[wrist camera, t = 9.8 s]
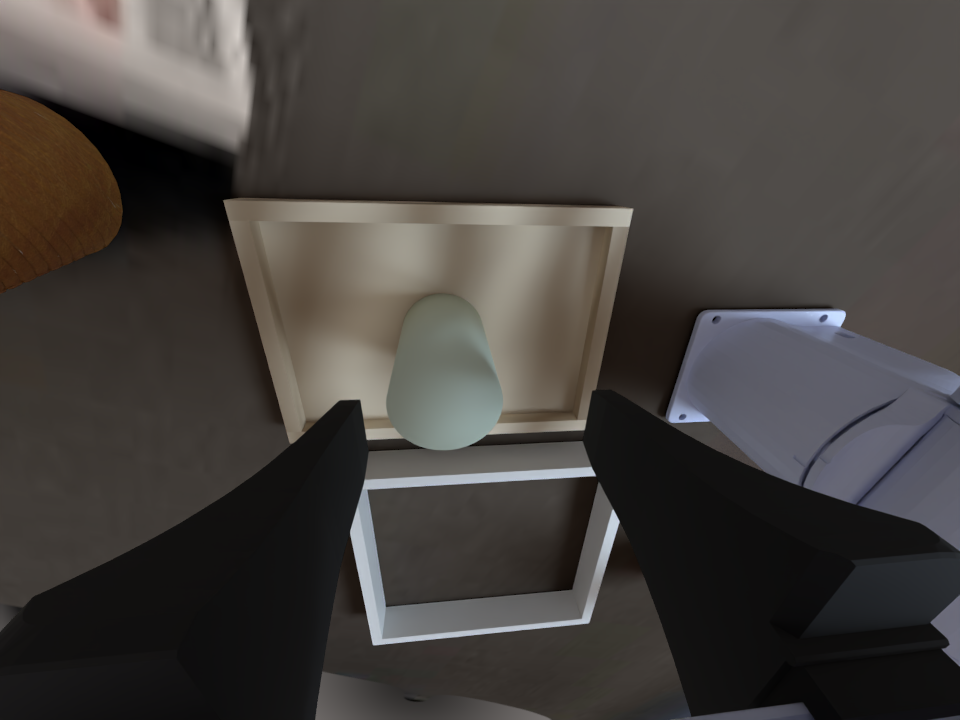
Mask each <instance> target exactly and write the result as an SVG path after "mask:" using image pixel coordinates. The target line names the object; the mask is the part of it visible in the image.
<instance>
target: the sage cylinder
mask: <svg viewBox="0 0 960 720" xmlns="http://www.w3.org/2000/svg"><path fill="white" fill-rule="evenodd" d="M502 408H503V394H502V390H501V386H500V383H499V379H498V376H497V372H496V369H495V365H494V362H493V358H492V355H491V351H490V348H489V345H488V341H487V338H486V334H485V331H484V327H483V324H482V320H481V318H480V315H479V314H478V312H477V310H476V309H475V308H474V307H473V306H472V305H471V304H470V303H469V302H468V301H466V300H465V299H463V298H461V297H459V296H456V295H452V294H445V293H440V294H433V295H429V296H426V297H424V298H422V299H420V300H419V301H417V302H416V303H415V304H414V305H413V306H412V307H411V308H410V309H409V311H408V312H407V314H406V316H405V318H404V321H403V325H402V330H401V334H400V339H399V343H398V348H397V352H396V357H395V361H394V366H393V370H392V375H391V379H390V383H389V388H388V392H387V397H386V409H387V414H388V417H389V419H390V422H391V423H392V425H393V427H394V428H395V429H396V430H397V432H398V433H399V434H400V435H401V436H402V437H404V438H405V439H407V440H408V441H410V442H411V443H413V444H415V445H418V446H420V447H423V448H427V449H432V450H454V449H459V448H463V447H466V446H469V445H471V444H473V443H475V442H477V441H479V440H480V439H482V438H483V437H484V436H486V435H487V434H488V433H489V432H490V431H491V430H492V429H493V427H494V426H495V425H496V423H497V421H498V420H499V417H500V415H501V412H502Z"/></svg>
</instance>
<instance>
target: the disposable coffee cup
mask: <svg viewBox="0 0 960 720" xmlns="http://www.w3.org/2000/svg"><path fill="white" fill-rule="evenodd" d="M122 213H123V209H122V202H121V196H120V191H119V188H118V185H117V182H116V180H115V178H114V176H113V174H112V172H111V170H110V168H109V166H108V164H107V163H106V161H105V160H104V158H103V157H102V156H101V154H100V153H99V151H98V150H97V149H96V147H95V146H94V145H93V144H92V143H91V142H90V141H89V140H88V139H87V138H86V137H85V135H84V134H83V133H82V132H81V131H79V130H78V129H77V128H76V127H75V126H73V125H72V124H71V123H70V122H69V121H67V120H66V119H65V118H63V117H62V116H60V115H59V114H57V113H55V112H54V111H52V110H51V109H49V108H47V107H46V106H44V105H42V104H40V103H38V102H36V101H34V100H32V99H30V98H27V97H24V96H21V95H18V94H15V93H11V92H8V91H4V90H1V89H0V294H1V293H3V292H6V290H7V289H13V288H15V287H17V286H19V285H21V284H22V282H24V283H25V282H29V281H31V280H33V279H35V278H37V276H42V275H44V274H46V273H48V272H50V271H52V270H56V269H58V268H60V267H62V265H68V264H70V263H71V262H73V261H74V260H75V261H77V260H79V259H81V258H83V257H84V256H87V255H89V254H92V253H95V252H97V251H100V250H101V249H103V248H105V247H106V246H108V245H109V244H110V242H111V241H112V240H113V238H114V237H115V236H116V235H117V233H118V231H119V228H120V226H121V221H122Z"/></svg>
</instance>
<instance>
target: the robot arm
mask: <svg viewBox="0 0 960 720" xmlns="http://www.w3.org/2000/svg"><path fill="white" fill-rule="evenodd" d="M715 316H716V319H715V320H714V321H712V320H713V318H714V317H715ZM845 316H846V314H845V312H844V311H843V310H840V309H748V310H704V311H703V312H701V313H700V314H699V315H698V317H697V319H696V322H695V326H694V329H693V332H692V335H691V338H690V341H689V344H688V347H687V350H686V353H685V357H684V360H683V363H682V366H681V369H680V372H679V375H678V378H677V381H676V384H675V388H674V391H673V394H672V397H671V400H670V403H669V406H668V409H667V412H666V419H667V420H668V421H669V422H671V423H681V422H703V421H711V422H712V423H713V424H714V425H715V426H716V427H717V428H718V429H719V430H720V431H721V432H723V433H724V434H725V435H726V436H727V437H728V438H729V439H730V440H731V441H732V442H733V443H734V444H736V445H737V446H738V447H739V448H740V449H741V450H742V451H743V452H744V453H745V454H746V455H747V456H748V457H750V458H751V459H752V460H753V461H754V462H755V463H756V464H757V465H758V466H759V467H760V468H761V469H763V470H764V471H765V472H766V473H765V472H763V471H760V470H758V469H756V468H753V467H751V466H749V465H746V464H744V463H742V462H740V461H738V460H735V459H733V458H731V457H729V456H727V455H725V454H723V453H721V452H718V451H716V450H714V449H712V448H710V447H709V446H707V445H705V444H703V443H701V442H699V441H697V440H695V439H694V438H692V437H690V436H688V435H686V434H684V433H683V432H681V431H679V430H677V429H676V428H674V427H672V426H671V425H669V424H667V423H666V422H664V421H662V420H661V419H659V418H657V417H656V416H654V415H652V414H651V413H649V412H648V411H646V410H644V409H643V408H641V407H640V406H638V405H636V404H635V403H633V402H632V401H630V400H628V399H627V398H625V397H623V396H622V395H620V394H618V393H616V392H614V391H612V390H592V394H591V399H590V405H589V410H588V415H587V420H586V426H585V431H584V436H583V444H584V447H585V450H586V453H587V456H588V458H589V461H590V464H591V466H592V469H593V471H594V473H595V475H596V477H597V479H598V481H599V483H600V485H601V487H602V489H603V491H604V493H605V494H606V496H607V498H608V500H609V502H610V504H611V506H612V508H613V510H614V512H615V514H616V515H617V517H618V519H619V521H620V523H621V525H622V527H623V529H624V531H625V533H626V535H627V537H628V539H629V541H630V543H631V545H632V548H633V550H634V553H635V555H636V558H637V560H638V563H639V565H640V568H641V570H642V573H643V575H644V578H645V580H646V583H647V585H648V588H649V591H650V594H651V596H652V599H653V602H654V604H655V607H656V610H657V612H658V615H659V618H660V621H661V624H662V627H663V629H664V632H665V635H666V638H667V641H668V644H669V647H670V650H671V653H672V656H673V659H674V662H675V665H676V668H677V671H678V674H679V678H680V681H681V684H682V687H683V690H684V694H685V697H686V700H687V703H688V706H689V710H690V713H691V717H688V718H680V719H673V720H960V376H958V375H957V374H955V373H953V372H951V371H949V370H947V369H945V368H942V367H940V366H937V365H935V364H932V363H930V362H927V361H925V360H922V359H920V358H917V357H915V356H912V355H909V354H907V353H904V352H902V351H899V350H897V349H894V348H892V347H889V346H887V345H884V344H882V343H879V342H876V341H874V340H871V339H869V338H866V337H864V336H861V335H859V334H856V333H854V332H851V331H848V330H846V329H843V328H841V327H840V326H841V324H842V323H843V321H844V319H845ZM681 414H682V415H681ZM680 415H681V416H680ZM368 454H369V451H368V444H367V438H366V432H365V426H364V419H363V413H362V407H361V401H360V400H339V401H338V402H337V403H336V404H335V405H334V406H333V407H332V408H331V409H329V410H328V411H327V412H326V413H325V414H324V415H323V416H322V417H321V418H320V419H319V420H318V421H317V422H316V423H315V424H314V425H313V426H312V427H311V428H309V429H308V430H307V431H306V432H305V433H304V434H303V435H302V436H301V437H300V438H299V439H298V440H296V441H295V442H294V443H293V444H292V445H291V446H289V447H288V448H287V449H286V450H285V451H283V452H282V453H281V454H280V455H279V456H277V457H276V458H275V459H274V460H273V461H271V462H270V463H269V464H268V465H267V466H265V467H264V468H263V469H261V470H260V471H259V472H257V473H256V474H255V475H253V476H252V477H251V478H249V479H248V480H246V481H245V482H244V483H242V484H241V485H239V486H238V487H237V488H235V489H234V490H232V491H231V492H229V493H228V494H226V495H225V496H223V497H222V498H220V499H219V500H217V501H215V502H214V503H212V504H210V505H209V506H207V507H206V508H204V509H202V510H201V511H199V512H198V513H196V514H194V515H193V516H191V517H190V518H188V519H186V520H185V521H183V522H181V523H180V524H178V525H176V526H174V527H173V528H171V529H169V530H167V531H165V532H164V533H162V534H160V535H158V536H156V537H155V538H153V539H151V540H149V541H147V542H145V543H143V544H142V545H140V546H138V547H136V548H134V549H132V550H130V551H128V552H126V553H124V554H122V555H120V556H118V557H117V558H115V559H113V560H111V561H109V562H106V563H104V564H102V565H100V566H98V567H96V568H94V569H92V570H90V571H88V572H85V573H83V574H81V575H79V576H77V577H75V578H73V579H71V580H69V581H67V582H64V583H62V584H60V585H58V586H56V587H54V588H52V589H50V590H47V591H45V592H43V593H41V594H38V595H36V596H34V597H33V598H32V599H31V600H30V601H29V602H28V603H27V604H26V605H25V606H24V607H23V608H22V609H21V610H20V612H19V613H18V614H17V615H16V616H15V617H14V618H13V619H12V620H11V621H10V622H9V623H8V624H7V625H6V626H5V627H4V629H3V630H2V631H1V632H0V720H315V715H316V708H317V701H318V694H319V688H320V681H321V674H322V669H323V662H324V656H325V649H326V643H327V638H328V632H329V626H330V620H331V614H332V608H333V603H334V598H335V592H336V587H337V582H338V576H339V571H340V567H341V563H342V559H343V555H344V551H345V547H346V544H347V541H348V537H349V534H350V530H351V527H352V523H353V520H354V517H355V513H356V510H357V506H358V503H359V499H360V496H361V492H362V489H363V485H364V480H365V474H366V468H367V461H368Z"/></svg>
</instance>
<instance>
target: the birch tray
mask: <svg viewBox="0 0 960 720" xmlns="http://www.w3.org/2000/svg"><path fill="white" fill-rule="evenodd" d="M223 201H224V205H225V208H226V212H227V216H228V219H229V223H230V227H231V230H232V234H233V238H234V241H235V245H236V249H237V252H238V256H239V260H240V263H241V267H242V270H243V274H244V278H245V281H246V285H247V289H248V292H249V296H250V300H251V303H252V307H253V311H254V314H255V318H256V322H257V325H258V329H259V333H260V336H261V340H262V344H263V347H264V351H265V354H266V358H267V362H268V365H269V369H270V373H271V376H272V380H273V384H274V387H275V391H276V395H277V398H278V402H279V406H280V409H281V413H282V417H283V420H284V424H285V428H286V431H287V435H288V438H289V442H290V443H294V442H295V441H296V440H298V439H299V438H300V437H301V436H302V435H303V434H304V433H305V432H306V431H307V430H308V429H309V428H311V427H312V426H313V425H314V424H315V423H316V422H317V421H318V420H319V419H320V418H321V417H322V416H323V415H324V414H325V413H326V412H327V411H328V410H329V409H331V408H332V407H333V406H334V405H335V404H336V403H337V402H338V401H339V400H360V401H361V407H362V413H363V419H364V426H365V432H366V438H367V440H375V439H397V438H404V437H402V436H401V435H400V434H399V433H398V432H397V430H396V429H395V428H394V427H393V425H392V423H391V422H390V419H389V417H388V414H387V409H386V397H387V392H388V388H389V383H390V379H391V375H392V370H393V366H394V361H395V357H396V352H397V348H398V343H399V339H400V334H401V330H402V325H403V321H404V318H405V316H406V314H407V312H408V311H409V309H410V308H411V307H412V306H413V305H414V304H415V303H416V302H417V301H419V300H420V299H422V298H424V297H426V296H429V295H433V294H440V293H445V294H452V295H456V296H459V297H461V298H463V299H465V300H466V301H468V302H469V303H470V304H471V305H472V306H473V307H474V308H475V309H476V310H477V312H478V314H479V315H480V318H481V320H482V324H483V327H484V331H485V334H486V338H487V341H488V345H489V348H490V351H491V355H492V358H493V362H494V365H495V369H496V372H497V376H498V379H499V383H500V386H501V390H502V394H503V408H502V412H501V415H500V417H499V420H498V421H497V423H496V425H495V426H494V427H493V429H492V430H491V431H490V432H489V433H488V434H508V433H530V432H552V431H575V430H585V426H586V420H587V415H588V410H589V405H590V399H591V394H592V390H596V387H597V382H598V377H599V372H600V367H601V363H602V358H603V353H604V348H605V343H606V338H607V333H608V329H609V324H610V319H611V314H612V309H613V304H614V300H615V295H616V290H617V285H618V280H619V275H620V270H621V266H622V261H623V256H624V251H625V246H626V241H627V236H628V232H629V227H630V222H631V217H632V212H633V209H631V208H627V207H622V206H599V205H553V204H507V203H461V202H415V201H369V200H323V199H277V198H235V199H228V200H223Z"/></svg>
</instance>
